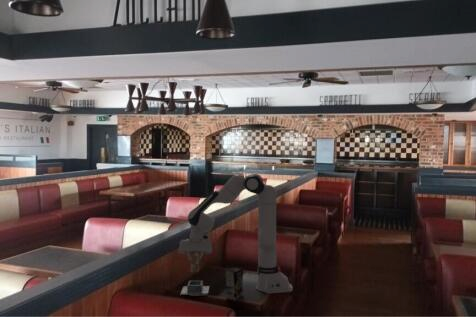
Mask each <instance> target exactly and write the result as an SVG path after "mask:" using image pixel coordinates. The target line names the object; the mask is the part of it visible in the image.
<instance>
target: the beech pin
mask: <svg viewBox="0 0 476 317" xmlns="http://www.w3.org/2000/svg"><path fill="white" fill-rule="evenodd" d="M190 256H191V260H190V273H199V272H200V260H199V259H198V257H199V256H200V254H199V252H191V254H190Z"/></svg>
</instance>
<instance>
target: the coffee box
mask: <svg viewBox="0 0 476 317" xmlns="http://www.w3.org/2000/svg"><path fill="white" fill-rule="evenodd" d="M225 273H226V274H225V277H226V278H225V283H226V284H225V289H226V291H225V292H226V293H225V294H226V295H225V298H226V299H228V300H232V299H233V301H237V299H239V298H241V297H243V296H244V274H243V273H244V268H242V267H231V268H230V269H228V270H226V272H225Z"/></svg>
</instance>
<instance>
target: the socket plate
mask: <svg viewBox="0 0 476 317" xmlns="http://www.w3.org/2000/svg"><path fill="white" fill-rule="evenodd" d="M209 291H210V285H207V286H206V285H204V280H188V283H187V285H185V286H182V289H181V292H180V296H181V295H190V296H189V297H200V296H201V297H202V296H204V297H205V296H206V297H207V296H209Z"/></svg>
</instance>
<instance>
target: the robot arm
mask: <svg viewBox="0 0 476 317" xmlns="http://www.w3.org/2000/svg"><path fill="white" fill-rule="evenodd" d="M245 190H246V191H247V192H249V193H252V194H255V195H257V197H258V199H257V201H258V202H257V203H258V204H257V205H258V207H257V208H258V209H257V212H258V213H257V215H258V216H257V240H258V246H257V248H258V250H257V251H258V254H257V258H258V259H257V260H258V261H257V262H258V265H257V282H256V286H255V289H256V290H258V291H260V292H262V293H265V294H277V293H279V294H280V293H290V292H292V291H293V285H292V284H291V283H290V282H289V278H288V276H286V275H285V274H284V273H283V272H281V271H282V269H281V267H280V266H279V264H277V195H276V189H275V187H274V186H273V185H269V184H266V183H264V180H263V177H262V176H261V175H260V174H259V173H250V174H248V175H246V176H243V175H241V174H239V173H238V174H234V175H233V176H231V177H230V178H229V179H228V180H227V182H225V183H224V184H223V186H222V187H221V188H220V189H218V190H213V191H212V192H211V193H209V195H208V196H207V197H205V199H203V200H202V201H201V202H200V203H199V204H198V205H197V206H196V207H195V208H193V209H192V210H191V211H190V212H189V213H188V215H187V220H188V223H189V225H190V234H189V238H188V239H187V238H186V239H185V238H183V239H181V240H180V241H179V248H178V252H179V254H180V255H181V254H182V255H183V254H184V255H187V256H188V261H189V260H190V261H191V252H199V257H198V259H199V261H200V260H202V257H203V255H204V254H206V255H207V254H209V255H210V254H211V255H212V253H213V246H212V241H211V237H210V235H206V234H207V233H210V232H211V231H213V230H214V229H215V227H216V219H215V217H213V216H211V215H210V214H207V213H205V212H206V211H207V210H208V208H210V207H211V206H212V205H214V204H216V203H217V204H218V203H219V204H232V203H234V202H235V201H236V200H237V198H238V197H239V195H241V193H242V192H243V191H245Z"/></svg>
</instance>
